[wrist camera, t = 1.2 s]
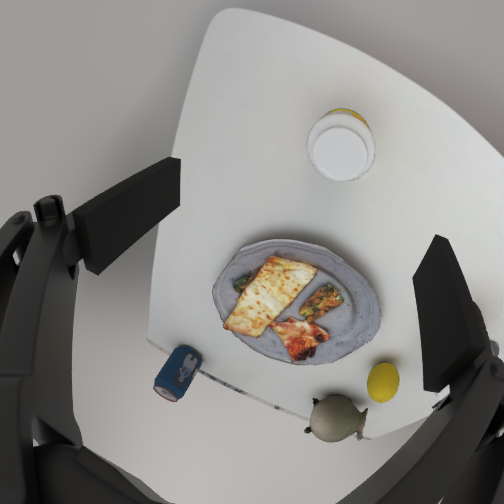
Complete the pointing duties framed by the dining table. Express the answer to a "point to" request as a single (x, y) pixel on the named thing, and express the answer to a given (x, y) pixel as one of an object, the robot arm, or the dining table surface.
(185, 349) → the soda can
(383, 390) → the lemon
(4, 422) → the robot arm
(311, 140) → the supplement bottle
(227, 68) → the dining table surface
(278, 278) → the food plate
